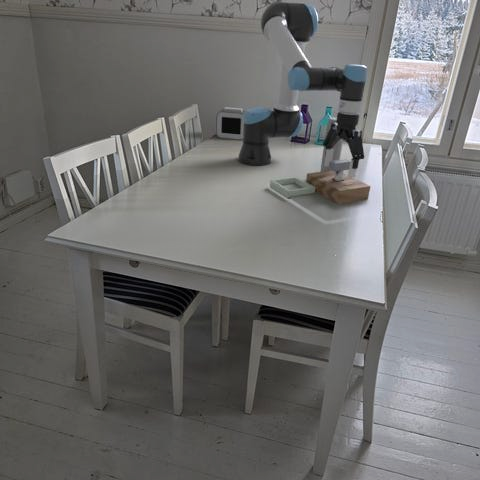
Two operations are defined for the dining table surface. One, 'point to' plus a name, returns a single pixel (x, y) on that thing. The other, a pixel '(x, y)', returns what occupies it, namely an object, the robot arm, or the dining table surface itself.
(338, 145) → the water bottle
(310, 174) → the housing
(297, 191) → the tray
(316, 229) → the dining table surface
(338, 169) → the t key
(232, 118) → the grey monitor with handle
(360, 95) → the robot arm
